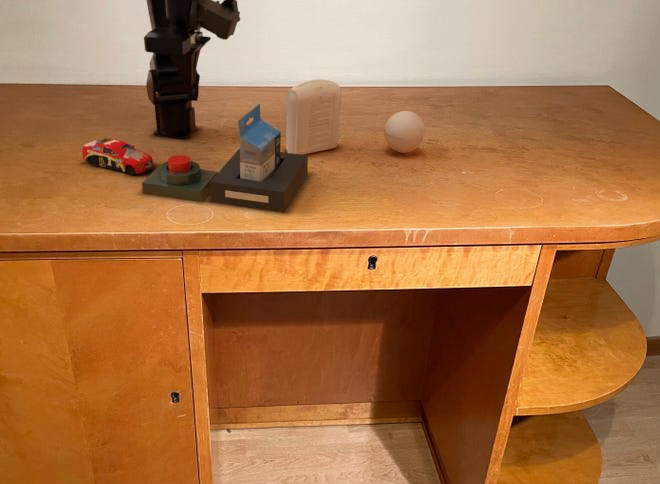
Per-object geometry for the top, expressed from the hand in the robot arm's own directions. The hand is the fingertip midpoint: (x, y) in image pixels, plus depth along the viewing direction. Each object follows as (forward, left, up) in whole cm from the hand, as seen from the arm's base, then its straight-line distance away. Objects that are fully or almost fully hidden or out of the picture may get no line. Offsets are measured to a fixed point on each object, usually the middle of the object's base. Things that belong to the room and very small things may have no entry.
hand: (189, 85), depth 118 cm
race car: (-11, -7, -13) cm, 18 cm away
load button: (+2, -12, -10) cm, 16 cm away
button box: (+2, -12, -13) cm, 18 cm away
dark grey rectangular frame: (+15, -8, -13) cm, 21 cm away
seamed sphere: (+34, +15, -13) cm, 39 cm away
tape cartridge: (+15, -8, -13) cm, 21 cm away
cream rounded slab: (+19, +11, -13) cm, 25 cm away
